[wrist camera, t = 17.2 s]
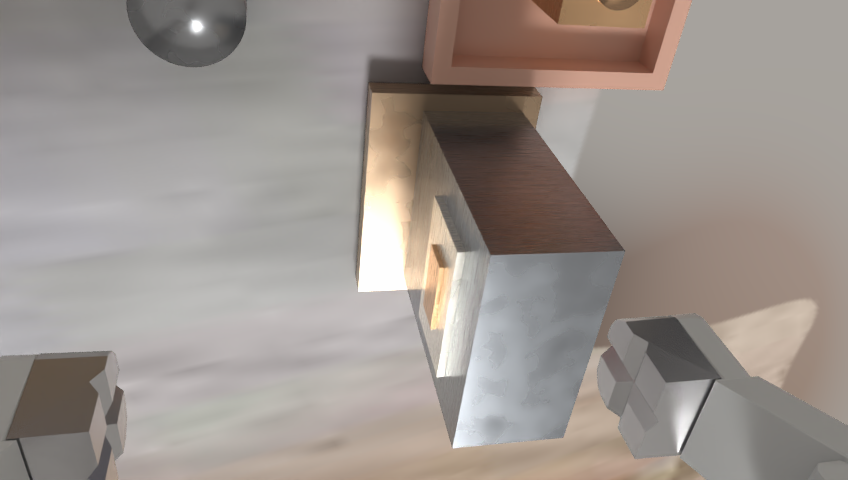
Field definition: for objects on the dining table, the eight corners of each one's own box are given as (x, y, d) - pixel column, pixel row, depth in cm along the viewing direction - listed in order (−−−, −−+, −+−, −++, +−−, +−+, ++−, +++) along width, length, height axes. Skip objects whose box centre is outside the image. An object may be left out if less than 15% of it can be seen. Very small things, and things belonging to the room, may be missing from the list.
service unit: (495, 272, 49) (576, 448, 37) (355, 277, 47) (392, 466, 35) (533, 86, 41) (653, 230, 29) (368, 82, 39) (421, 236, 27)
